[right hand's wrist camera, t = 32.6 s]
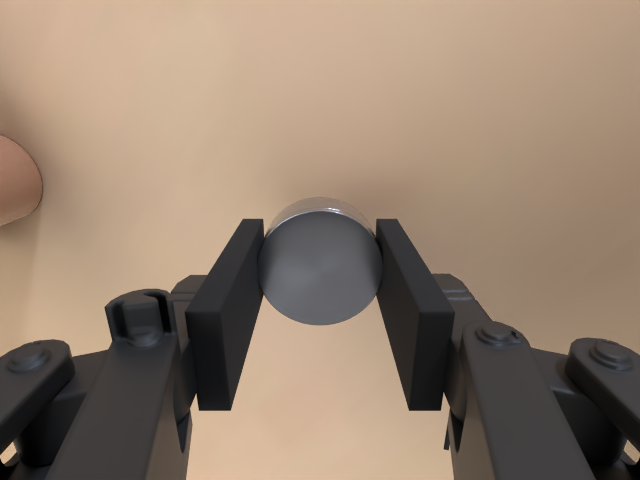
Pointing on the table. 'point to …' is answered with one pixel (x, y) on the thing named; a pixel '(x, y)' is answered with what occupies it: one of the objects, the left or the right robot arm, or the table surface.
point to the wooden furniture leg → (17, 182)
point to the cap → (319, 262)
